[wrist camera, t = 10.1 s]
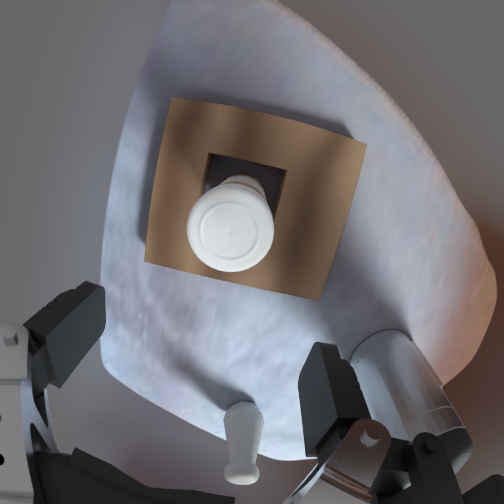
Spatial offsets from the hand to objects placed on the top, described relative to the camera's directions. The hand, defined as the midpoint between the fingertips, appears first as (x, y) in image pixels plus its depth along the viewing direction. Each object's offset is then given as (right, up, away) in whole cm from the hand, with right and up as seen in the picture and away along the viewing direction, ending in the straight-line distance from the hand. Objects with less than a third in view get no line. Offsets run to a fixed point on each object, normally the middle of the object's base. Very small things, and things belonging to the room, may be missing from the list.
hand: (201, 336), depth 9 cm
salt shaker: (+1, -20, +27) cm, 34 cm away
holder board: (+2, +8, +17) cm, 19 cm away
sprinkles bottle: (+1, +9, +17) cm, 19 cm away
